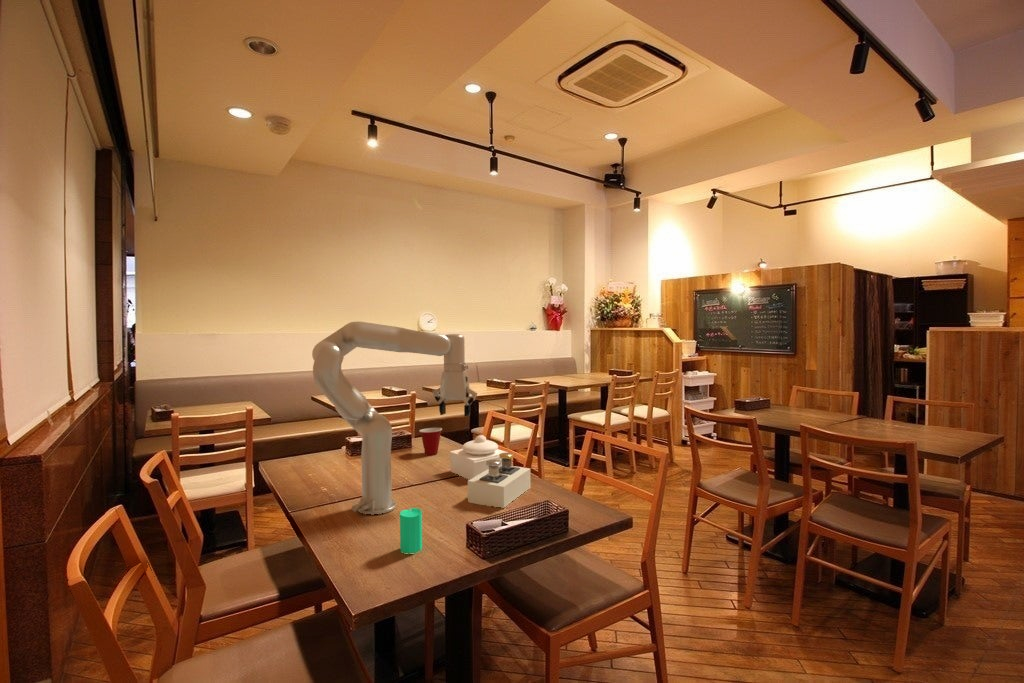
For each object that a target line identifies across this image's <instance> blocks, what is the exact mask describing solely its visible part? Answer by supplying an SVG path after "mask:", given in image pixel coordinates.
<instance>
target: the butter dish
mask: <svg viewBox="0 0 1024 683" xmlns="http://www.w3.org/2000/svg"><path fill="white" fill-rule="evenodd" d="M501 453H509V452H508V451H504V450H501V449H499V445H498V443H496V442H495V441H492V440H489V439H487V437H486V436H484V435H482V434H479V435H477V436H476V437H475V439H473V440H470V441H467V442H465V443H464V444H463V445H462V448H460V449H455V450H451V451H449V459H450V460H449V463H450V466H449V468H450V470H449V472H450V471H451V472H453V473H456V474H458V475H459V476H458V475H457V476H458V477H460V476H462V477H464V478H463V479H465V478H466V479H465V480H467V479H468V480H470V479H472V478H474V477H475V476H477V475H479V474H481V473H482V472H484V471H486V470H488V469H489V466H487V465H486V461H488V460H500V461H501V464H502V459H501V458H499V454H501ZM451 472H450V473H451ZM453 473H452V474H453ZM456 474H455V475H456ZM462 477H461V478H462ZM468 480H467V481H468Z"/></svg>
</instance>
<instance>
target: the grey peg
mask: <svg viewBox="0 0 1024 683" xmlns="http://www.w3.org/2000/svg"><path fill="white" fill-rule="evenodd" d="M486 465H487V466H489V479H493V480H497V479H499V466H500V465H501V461H500V460H488V461H486Z"/></svg>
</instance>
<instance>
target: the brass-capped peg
mask: <svg viewBox="0 0 1024 683" xmlns="http://www.w3.org/2000/svg"><path fill="white" fill-rule="evenodd" d="M499 458H501V459H502V471H507V472H510V471H511V466H512V459H514V458H515V456H514V453H512V452H508V453H501V454H499Z"/></svg>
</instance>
